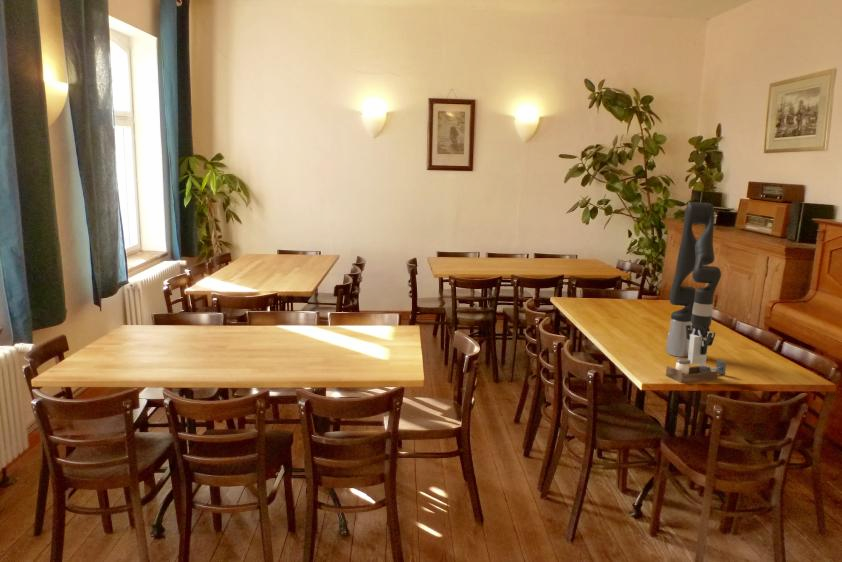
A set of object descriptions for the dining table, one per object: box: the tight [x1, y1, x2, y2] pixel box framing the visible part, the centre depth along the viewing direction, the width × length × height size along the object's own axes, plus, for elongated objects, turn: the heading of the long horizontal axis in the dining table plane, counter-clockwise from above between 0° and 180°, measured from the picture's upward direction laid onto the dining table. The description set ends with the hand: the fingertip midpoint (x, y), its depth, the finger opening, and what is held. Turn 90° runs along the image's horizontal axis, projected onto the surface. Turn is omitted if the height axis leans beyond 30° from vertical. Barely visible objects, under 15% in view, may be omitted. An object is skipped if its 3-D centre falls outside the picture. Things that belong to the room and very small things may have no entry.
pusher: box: [698, 359, 727, 377], centre depth 253 cm, size 6×10×6 cm, turn 110°
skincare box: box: [687, 334, 709, 365], centre depth 247 cm, size 6×4×12 cm
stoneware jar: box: [675, 357, 691, 375], centre depth 247 cm, size 5×5×8 cm
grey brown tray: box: [665, 365, 719, 384], centre depth 249 cm, size 9×19×5 cm, turn 110°
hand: (697, 352), depth 248 cm, fingers closed on skincare box, 5 cm apart
